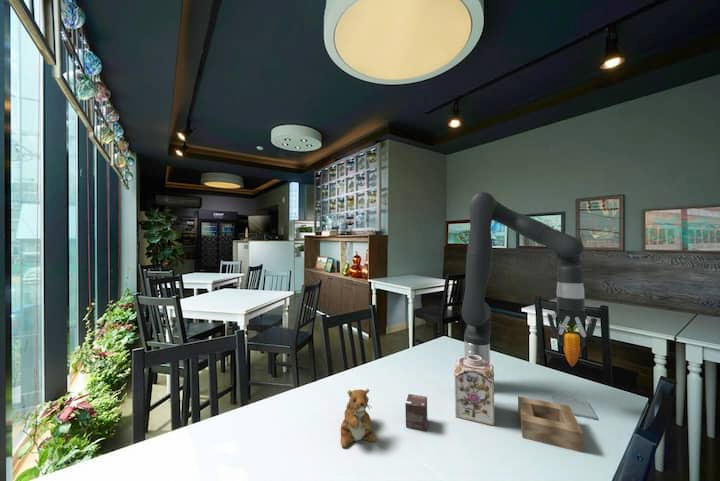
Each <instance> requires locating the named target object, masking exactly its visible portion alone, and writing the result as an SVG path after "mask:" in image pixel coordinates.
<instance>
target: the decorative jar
mask: <svg viewBox="0 0 720 481" xmlns="http://www.w3.org/2000/svg"><path fill="white" fill-rule="evenodd" d="M454 368H455V369H454V375H453V376H454V416H455V418H459V419H464V420H468V421H472V422H476V423H480V424H485V425H488V426H489V425H490V426H495V393H496V392H495V388H494V387H495V385H494V384H495V383H494V382H495V379H494V378H495V373H494V372H495V371H494V364H493V363H491V362H490V363H489V362H487V361H485V360H483V359H482V358H481V357H480V356H477V355H468V356H467V357H465V356H464V357H460V358H457V359H456V362H455V366H454Z"/></svg>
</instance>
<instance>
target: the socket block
mask: <svg viewBox="0 0 720 481" xmlns="http://www.w3.org/2000/svg"><path fill="white" fill-rule="evenodd" d="M517 412H518V413H517V414H518V418H519V423H520V425H519V426H520V431H521V437H522V439H527V440H530V441H534V442H539V443H543V444H547V445H552V446H554V447H555V446H556V447H560V448H563V449H568V450H571V451H576V452H579V453H584V433H583V430H582V429H581V426H580V425H579V423H578V420H577V418H576V416H575V415H574V414H573V412H572V410H571V408H570V406H567V405H561V404H556V403H555V402H550V401H545V400H539V399H533V398H529V397H525V396H524V397H523V396H519V395H518V396H517Z"/></svg>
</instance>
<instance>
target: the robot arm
mask: <svg viewBox="0 0 720 481" xmlns="http://www.w3.org/2000/svg"><path fill="white" fill-rule="evenodd" d="M468 207H469V219H470V220H469V224H470V226H469V235H468V240H467V242H468V243H467V247H466V248H467V251H466V261H465V262H466V264H465V265H466V266H465V288H464V295H463V300H462V306H461V317H462V320H463V321H464V323H465V324H466V328H465V331H464V335H463V338H464V339H463V340H464V341H463V342H464V343H463V344H464V358H465V357H467V356H468V355H477V356H480V357H481V358H482V359H483V360H485V361H487V362H489V363H491V353H490V352H491V350H490V349H491V344H490V341H491V340H490V338H491V334H492V313H491V308H490V305H489V304H488V303H487V302H486V301H485V300H486V299H485V297H486V290H487V286H488V282H489V281H490V280H489V279H490V276H491V272H492V267H493V254H494V252H493V240H492V223H493V222H496V223H499V224H501V225H502V226H505V227H507V228H509V229H511V231H514V232H516V233H517V234H519V235H521V236H523V237H525V238H527V239H528V240H530V241H532V242H534V243H536V244H538V245H542V246H545V247H546V248H548V249H550V250H552V251H554V252H555V254H556V262H557V263H556V264H557V270H556V273H557V274H556V275H557V277H556V278H557V284H556V311H555V313H550V312H549V313H546V317H547V321H548V324H549V326H550V329H551V331H552V332H553V333H556V334H557V335H556V336H557V342H558V344H559V345H560V346H563V347H564V337H563V333H564V332H565V331H566V327H567V326H571V327H572V326H575V325H578V327H577V328H576V329H577V331H578V333H579V334H578V335H579V336H580V349H584V347H586V346H587V344H586V343H587V342H586V341H587V340H586V338H587V337H592V336H593V335H594V331H595V328H596V325H597V321H598V319H597V318H596V317H594V316H589V315H587V314H586V311H585V310H586V309H585V308H586V306H585V303H586V302H585V287H584V273H583V268H582V266H581V255H582V254H583V253H584V249H585V248H584V247H585V246H584V243H583V241H582V240H580V239H579V238H577V237H575V236H572V235H570V234H568V233H565V232H563V231H560V230H557V229H555V228H554V227H551V226H550V225H547V224H546V223H544V222H541V221H539V220H537V219H535V218H534V217H530V216H527V215H525V214H522V213H519V212H517V211H515V210H512V209H510V208H508V207H507V206H504V204H502V203H501V202H499V201H497V200H496V198H495V197H494V195H492V194H491V193H488V192H486V191H480V192H477V193H475V194H474V195H473V196H472V197H471V199H470V201H469V206H468ZM492 221H493V222H492ZM556 318H558V320H559V324H558V328H557V327H556V324H555V320H556ZM585 321H587V323H588V324H587V327H586V330H585V328H584V327H583V325H582V324H583V323H584V322H585Z"/></svg>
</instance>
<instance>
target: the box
mask: <svg viewBox="0 0 720 481" xmlns="http://www.w3.org/2000/svg"><path fill="white" fill-rule="evenodd" d="M404 406H405V427H406V428H409V429H414V430H419V431H420V430H421V431H424V432H425V431H427V424H428V396H423V395H418V394H411V393H408V395H407V398H406V401H405V405H404Z"/></svg>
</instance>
